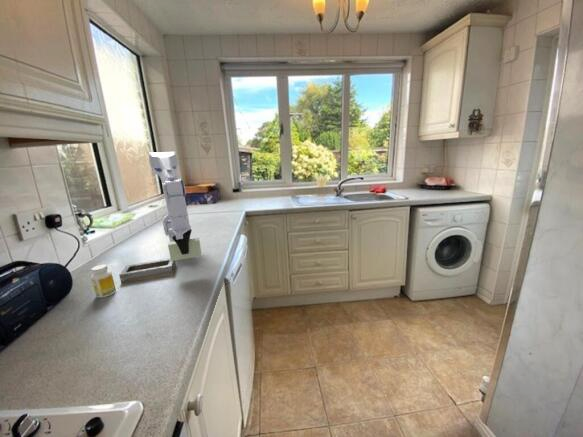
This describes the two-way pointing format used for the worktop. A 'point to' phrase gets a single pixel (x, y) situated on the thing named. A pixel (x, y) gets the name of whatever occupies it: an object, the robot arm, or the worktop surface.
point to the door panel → (193, 250)
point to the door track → (147, 270)
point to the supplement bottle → (102, 281)
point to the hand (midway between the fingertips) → (185, 252)
